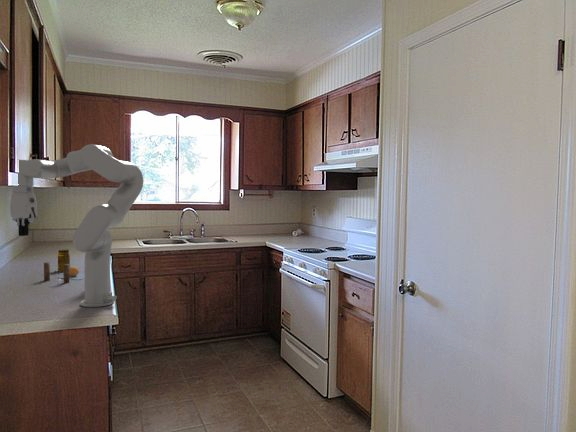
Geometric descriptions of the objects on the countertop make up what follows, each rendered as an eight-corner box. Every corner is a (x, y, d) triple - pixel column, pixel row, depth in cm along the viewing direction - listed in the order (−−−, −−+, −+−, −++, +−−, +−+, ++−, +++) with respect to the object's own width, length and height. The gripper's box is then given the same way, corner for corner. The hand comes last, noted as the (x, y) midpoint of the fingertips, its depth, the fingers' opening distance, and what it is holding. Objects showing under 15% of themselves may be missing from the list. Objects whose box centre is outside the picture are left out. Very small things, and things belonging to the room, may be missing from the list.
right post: (70, 282, 220) (70, 264, 219) (66, 283, 217) (66, 265, 217) (66, 281, 221) (66, 263, 220) (62, 282, 218) (62, 264, 218)
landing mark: (98, 275, 239) (98, 275, 239) (78, 280, 225) (78, 279, 225) (78, 273, 243) (78, 273, 243) (57, 277, 230) (57, 277, 230)
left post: (51, 280, 224) (50, 262, 223) (46, 281, 221) (46, 263, 221) (47, 279, 225) (46, 262, 224) (42, 280, 222) (42, 262, 222)
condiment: (54, 271, 249) (54, 250, 248) (67, 269, 257) (67, 248, 256) (63, 272, 246) (63, 251, 245) (76, 270, 254) (76, 249, 253)
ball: (77, 265, 233) (72, 274, 229) (82, 270, 237) (77, 279, 234) (68, 263, 234) (63, 273, 230) (73, 268, 238) (68, 278, 235)
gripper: (44, 190, 180) (45, 235, 181) (17, 190, 185) (18, 233, 186) (28, 190, 173) (29, 237, 174) (0, 190, 178) (1, 235, 179)
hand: (23, 235), depth 180 cm, fingers closed
